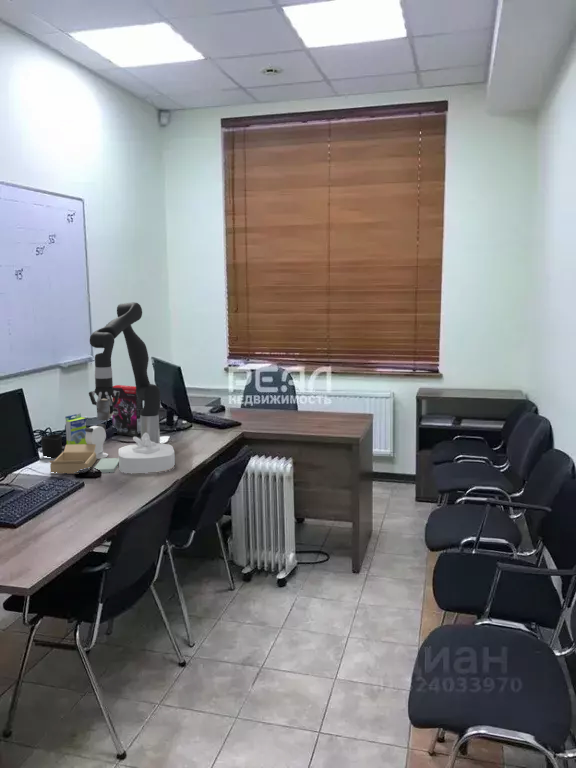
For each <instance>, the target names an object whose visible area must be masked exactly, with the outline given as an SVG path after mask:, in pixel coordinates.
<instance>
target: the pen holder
mask: <svg viewBox="0 0 576 768" xmlns="http://www.w3.org/2000/svg"><path fill="white" fill-rule="evenodd" d="M40 440H41V441H40V442H41V449H42V457H43V456H47V457H51V458H53V459H56V458H57V457H58V456H59V455H60V454H61V453H62V452H63V435H62V434H57V433H54V434H53V433H52V434H50V435H48V436H44V435H43V436H41V437H40Z"/></svg>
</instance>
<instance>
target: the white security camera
mask: <svg viewBox="0 0 576 768" xmlns="http://www.w3.org/2000/svg"><path fill="white" fill-rule="evenodd" d="M106 429H107V426H106V424H104V423H103V424H102V423H97V425H92V426H90V427H86V428H85V432H86V436H85V440H86V443H87V444H96V447H95V451H94V452H95V453H96V460H101V458H108V456H109V453H107V452H104V443H105V441H106V438H107V434H106V433H107V432H106Z"/></svg>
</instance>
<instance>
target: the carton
mask: <svg viewBox="0 0 576 768" xmlns="http://www.w3.org/2000/svg"><path fill="white" fill-rule="evenodd" d="M95 447H96V444H74V445H67V444H65V447H64V450H63V451H62V453H61V454H60V455H59V456H58V457H57V458H54V460H49V461H48V462H49V463H50V466H49V467H50V473H51V472H54V473H56V472H57V473H67V474H75V473H74V472H77V471H79V470H80V469H84V468H88V467H91V468H92V467H93V466H94V464H95V463H96V462H97V459H96V453H95V452H94V451H95Z"/></svg>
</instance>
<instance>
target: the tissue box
mask: <svg viewBox="0 0 576 768" xmlns="http://www.w3.org/2000/svg"><path fill="white" fill-rule="evenodd" d="M141 439H142V441H141ZM132 440H133V441H134V442H135V443H136V444H128V445H125V446H122V447H120V448H118V458H119V465H118V470H120V471H119V472H121V473H123V472H124V473H123V474H127V473H131V474H130V475H133V474H132V473H145V474H149V473H148V472H156V471H162V470H166V469H170V468H172V467H173V466H174V465H175V463H176V462H175V460H176V459H175V450H174V447H173V445H171V444H169V443H167V444H166V443H162V442H160V443H155V442H151V440H150V437H149V434H148V433H144V434H143V436H142V438H141V437H138V436H132ZM175 466H176V465H175Z"/></svg>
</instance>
